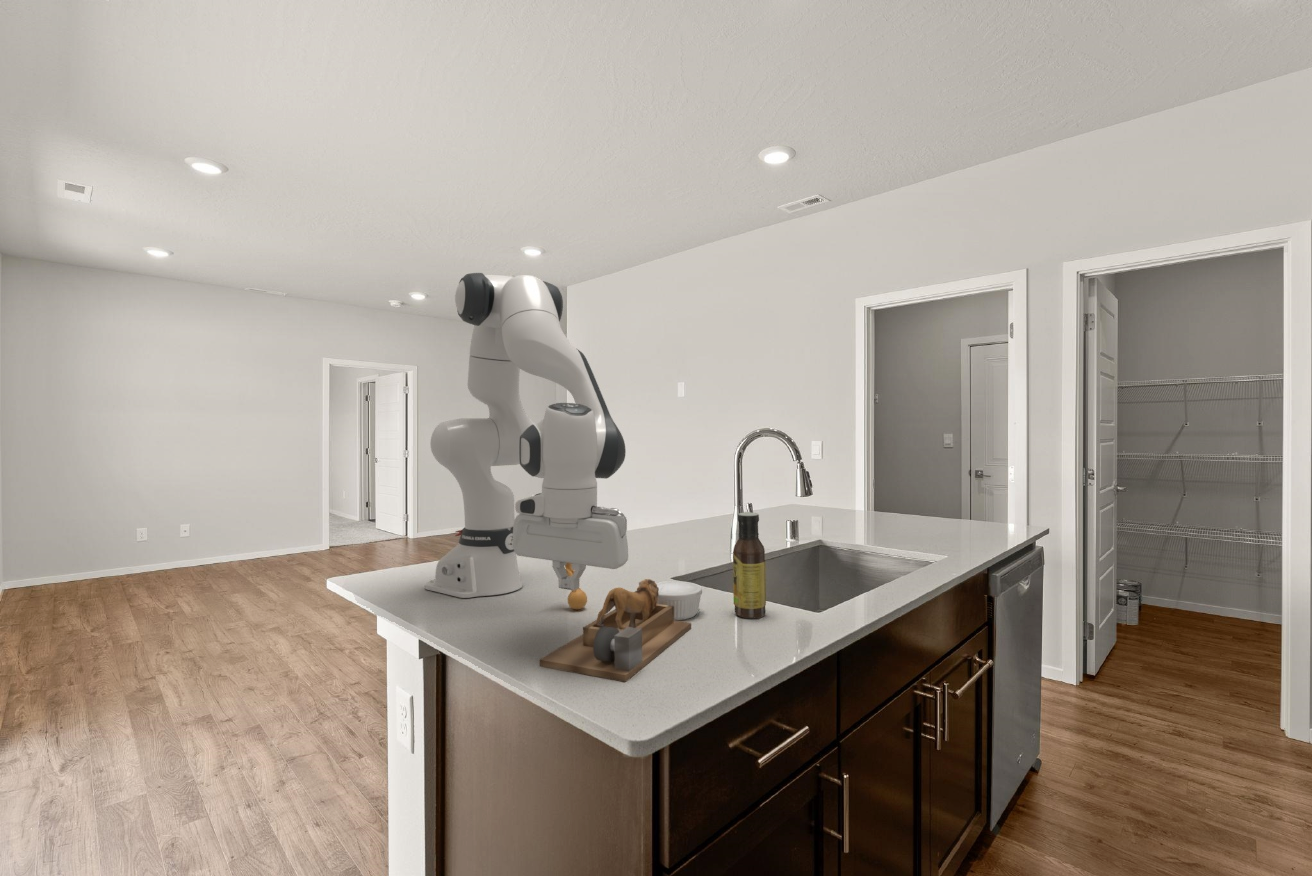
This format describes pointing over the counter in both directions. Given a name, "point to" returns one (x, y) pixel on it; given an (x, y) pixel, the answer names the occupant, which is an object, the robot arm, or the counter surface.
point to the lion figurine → (631, 603)
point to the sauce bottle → (749, 569)
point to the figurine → (575, 593)
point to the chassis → (620, 645)
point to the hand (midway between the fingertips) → (568, 588)
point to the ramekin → (680, 597)
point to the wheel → (605, 644)
